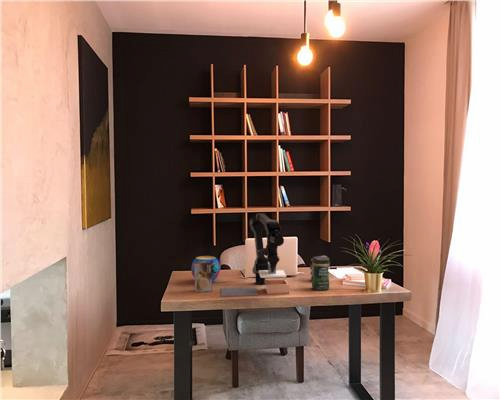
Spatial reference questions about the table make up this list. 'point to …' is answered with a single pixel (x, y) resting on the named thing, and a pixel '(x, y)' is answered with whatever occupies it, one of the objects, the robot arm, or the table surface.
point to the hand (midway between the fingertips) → (272, 271)
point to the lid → (271, 273)
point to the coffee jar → (320, 273)
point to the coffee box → (203, 276)
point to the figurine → (313, 269)
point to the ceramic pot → (214, 265)
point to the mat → (239, 291)
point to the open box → (276, 287)
